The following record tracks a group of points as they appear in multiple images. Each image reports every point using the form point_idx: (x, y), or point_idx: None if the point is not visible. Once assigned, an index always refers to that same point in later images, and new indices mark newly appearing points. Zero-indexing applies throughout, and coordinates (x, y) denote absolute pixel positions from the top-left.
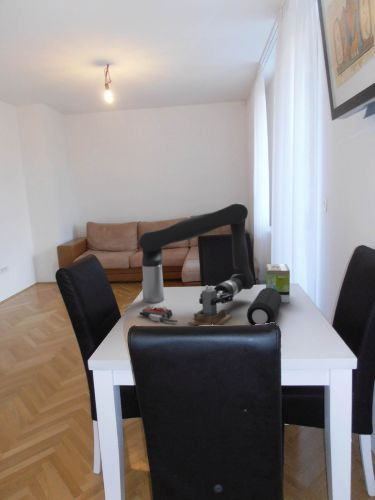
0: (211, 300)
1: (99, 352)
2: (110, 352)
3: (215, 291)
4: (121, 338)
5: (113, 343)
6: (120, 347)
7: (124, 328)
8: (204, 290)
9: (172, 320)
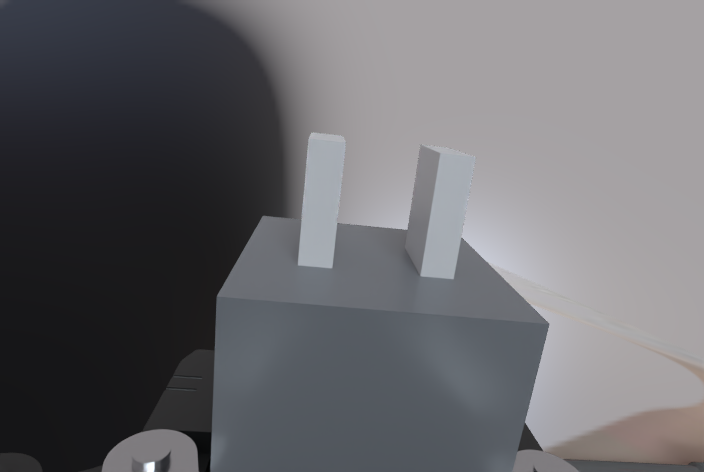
0: None
1: (487, 262)
2: None
3: (225, 320)
4: (549, 308)
5: (522, 288)
6: None
7: (675, 360)
8: (459, 252)
9: (589, 460)
